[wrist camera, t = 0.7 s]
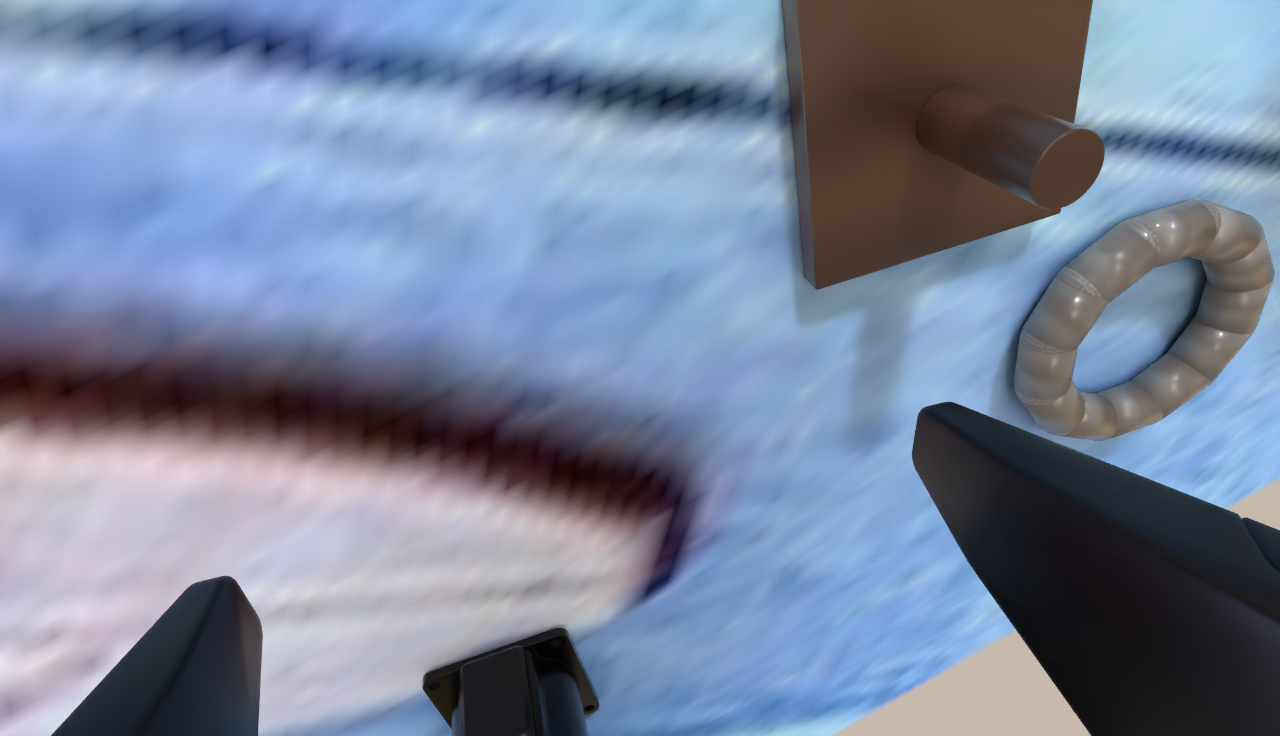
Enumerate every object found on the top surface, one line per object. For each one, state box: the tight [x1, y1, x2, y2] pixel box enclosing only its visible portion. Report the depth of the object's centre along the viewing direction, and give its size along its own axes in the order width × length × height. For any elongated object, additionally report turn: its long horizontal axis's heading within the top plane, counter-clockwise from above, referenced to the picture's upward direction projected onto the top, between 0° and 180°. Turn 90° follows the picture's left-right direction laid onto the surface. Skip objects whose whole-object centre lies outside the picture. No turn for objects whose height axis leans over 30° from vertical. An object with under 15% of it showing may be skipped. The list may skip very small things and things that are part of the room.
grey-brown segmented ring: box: [1014, 199, 1275, 441], centre depth 28 cm, size 10×10×2 cm
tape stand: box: [782, 0, 1104, 290], centre depth 20 cm, size 9×9×6 cm
